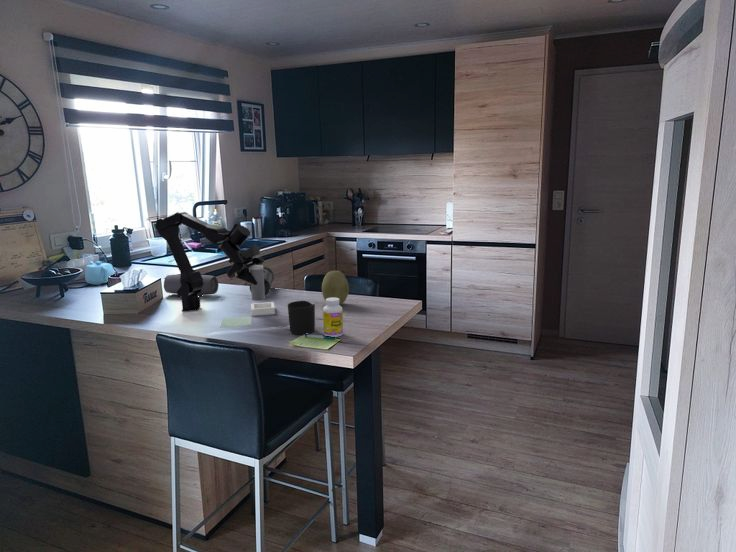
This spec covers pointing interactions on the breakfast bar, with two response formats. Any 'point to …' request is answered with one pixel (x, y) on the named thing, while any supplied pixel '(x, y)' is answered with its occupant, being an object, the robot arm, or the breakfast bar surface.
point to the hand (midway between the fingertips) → (260, 282)
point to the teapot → (98, 272)
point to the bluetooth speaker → (208, 288)
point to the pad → (236, 322)
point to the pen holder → (301, 317)
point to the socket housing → (262, 308)
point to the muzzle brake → (267, 279)
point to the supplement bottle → (333, 318)
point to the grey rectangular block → (258, 275)
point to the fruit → (335, 286)
